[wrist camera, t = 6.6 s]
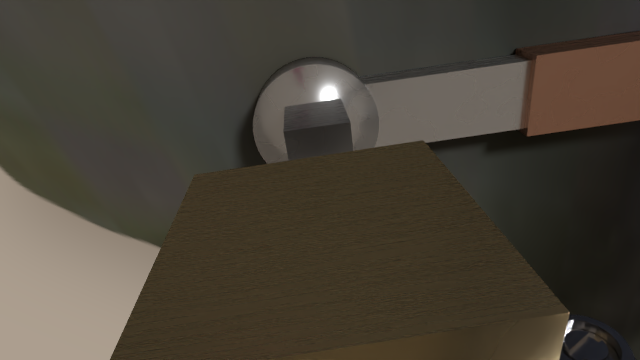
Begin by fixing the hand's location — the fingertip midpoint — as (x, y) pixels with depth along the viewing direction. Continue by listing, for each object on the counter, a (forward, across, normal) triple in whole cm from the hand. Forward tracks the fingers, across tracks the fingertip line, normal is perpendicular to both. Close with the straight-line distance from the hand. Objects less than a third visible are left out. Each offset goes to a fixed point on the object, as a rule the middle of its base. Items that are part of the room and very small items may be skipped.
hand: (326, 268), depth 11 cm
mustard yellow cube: (+1, 0, 0) cm, 1 cm away
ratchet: (+12, -8, 0) cm, 15 cm away
